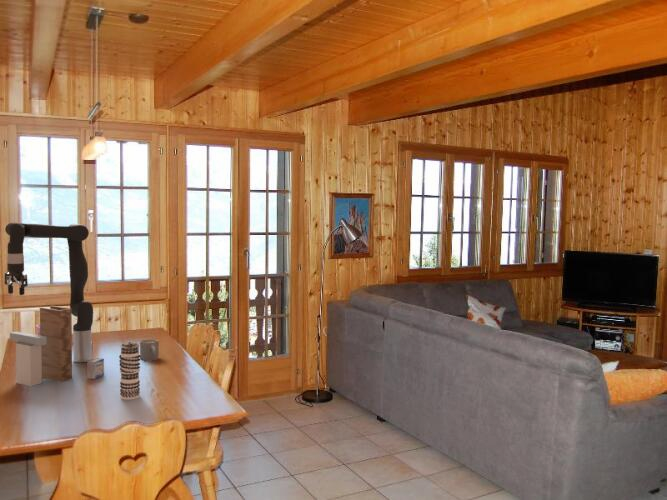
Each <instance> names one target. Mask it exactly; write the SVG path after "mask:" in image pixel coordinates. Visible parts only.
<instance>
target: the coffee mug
mask: <svg viewBox="0 0 667 500" xmlns="http://www.w3.org/2000/svg"><path fill="white" fill-rule="evenodd" d="M159 343H160V342H159V340H158V339H154V338H147V339H142V340H140V342H139V355H140V356H141V357H139V358H140V359H141V360H140V361H143V360H153V361H155V360H154V359H157V358H158V357H160V356H159V355H160V354H159V353H160V351H159ZM158 359H159V358H158ZM158 359H157V360H158Z"/></svg>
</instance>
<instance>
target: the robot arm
mask: <svg viewBox="0 0 667 500" xmlns="http://www.w3.org/2000/svg"><path fill="white" fill-rule="evenodd" d="M5 233H6V234H7V235H8V236H9V242H8V243H7V257H6V263H7V264H6V270H7V272H5V273H4V285H6V286H7V293H8V294H10V295H11V294H13V293H14V286H13V285H14V284H17V286H18V287H19V288H18V289H19V291H18V292H19V293H18V294H19V296H23V295H25V287H28V275H27V274H23V272H25V256H24V242H25V241H24V240H25V237H29V238H41V239H42V238H45V239H48V238H49V239H50V238H53V239H55V238H56V239H57V238H58V239H59V238H60V239H66V241H67V247H68V262H69V263H68V265H69V266H68V269H69V279H70V281H69V282H70V284H69V285H70V300H69V308H71V309H72V316H74V317H76V318H77V319H76V320H77V321H76V323H74V324H72V325H73V326H72V362H75V363H87V362H89V361H91V360H93V359H94V354H93V353H94V342H92V326H93V322H94V305H93V304H92V303H91V302H89V301H86V300H85V297H84V296H85V294H84V290H85V287H86V283H87V281H88V279H89V269H88V268H89V267H88V266H89V265H88V261H87V259H86V256H85V253H84V250H83V241H85V240H86V239H87V238H88V237H89V235H90V232H89V228H88V227H87V226H86V225H83V224H80V223H72V224H69V225H68V226H67V225H65V226H64V225H52V224H46V223H44V224H43V223H23V222H22V223H21V222H9V223H8V224H6V226H5Z"/></svg>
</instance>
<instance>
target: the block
mask: <svg viewBox="0 0 667 500" xmlns="http://www.w3.org/2000/svg"><path fill="white" fill-rule="evenodd" d="M15 358H16V360H15V361H16V362H15V365H16V369H15V370H16V384H18V385H19V384H20V385H23V386H27V387H33V386H37V385H40V384H42V383H43V380H42V379H43V378H42V361H41V346H38V345H33V344H28V343H22V342H17V341H15Z"/></svg>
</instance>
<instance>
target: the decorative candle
mask: <svg viewBox="0 0 667 500" xmlns="http://www.w3.org/2000/svg"><path fill="white" fill-rule="evenodd" d="M119 346H120V355H119V356H118V357H119V366H120V367H119V370H120V371H119V373H120V376H121V377H120V382H119V384H120V385H119V387H120V388H119V389H120V390H119V391H120V393H119V394H120V396H119V397H120V399H121V400H135V399H138V398H139V397H140V393H141V391H140V390H141V388H140V383H141V381H140V373H139V372H140V369H141V366H140V365H141V363H140V361H141V360H140V357H141V356H140V344H138V343H137V342H136V341H134V340H133V341H131V340H130V341H124V342H123V343H122V344H121V345H119Z"/></svg>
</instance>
